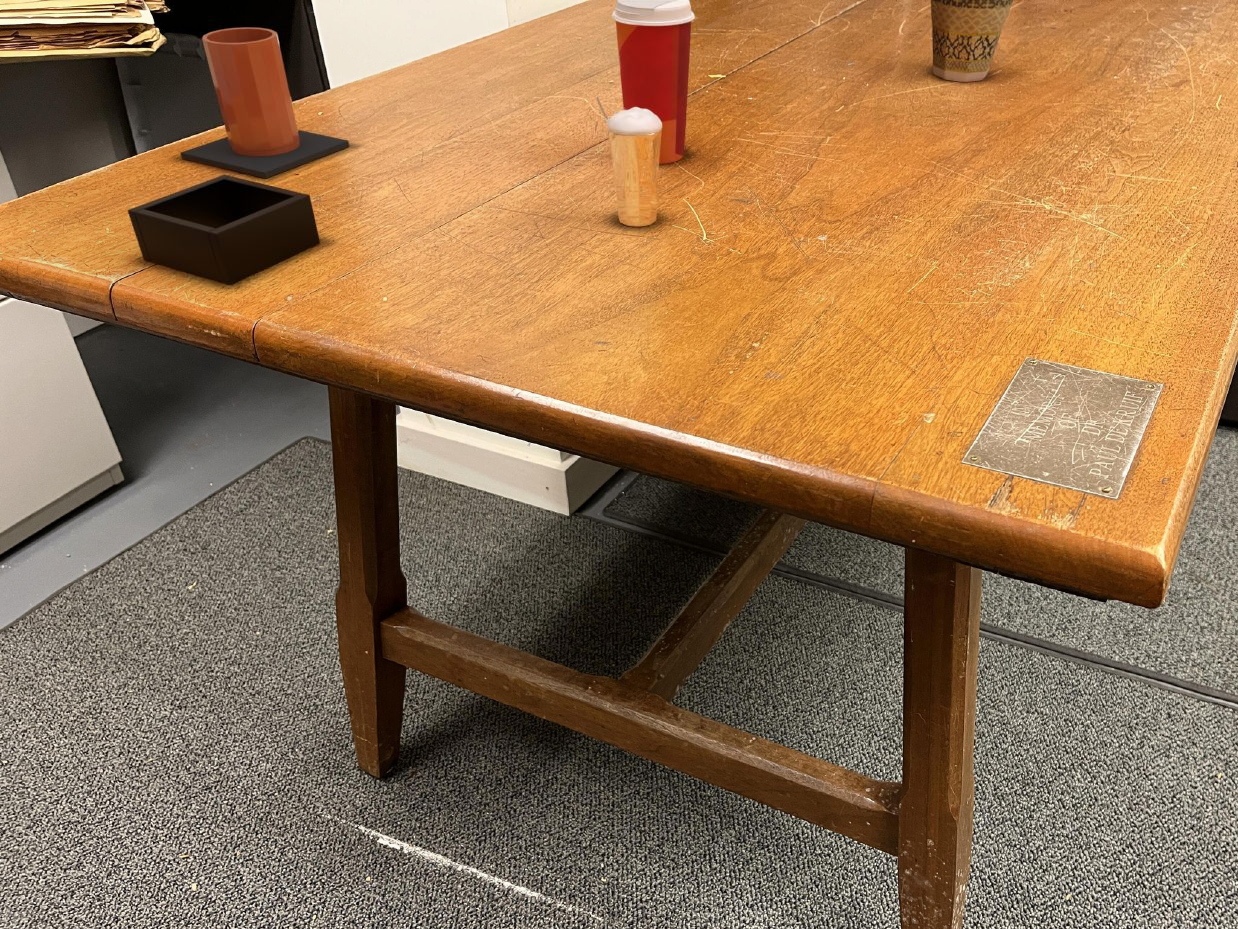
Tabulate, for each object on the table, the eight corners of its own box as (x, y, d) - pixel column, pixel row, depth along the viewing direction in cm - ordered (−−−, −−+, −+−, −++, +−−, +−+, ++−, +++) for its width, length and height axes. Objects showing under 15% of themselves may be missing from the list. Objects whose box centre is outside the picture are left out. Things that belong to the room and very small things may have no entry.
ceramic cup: (992, 89, 128) (1007, -3, 121) (911, 79, 130) (922, -11, 124) (1010, 64, 137) (1026, -22, 131) (935, 56, 140) (946, -29, 134)
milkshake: (608, 208, 94) (603, 89, 88) (667, 212, 93) (666, 93, 87) (596, 227, 90) (590, 105, 84) (658, 231, 90) (656, 109, 84)
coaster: (181, 158, 102) (179, 152, 101) (268, 128, 110) (267, 122, 109) (265, 178, 98) (264, 172, 98) (349, 146, 106) (348, 140, 105)
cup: (216, 149, 102) (186, 37, 96) (267, 132, 107) (241, 24, 101) (265, 160, 100) (237, 47, 94) (314, 142, 105) (291, 32, 98)
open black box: (143, 259, 83) (126, 209, 81) (236, 221, 90) (224, 174, 87) (230, 285, 80) (215, 233, 77) (320, 243, 86) (309, 194, 84)
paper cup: (659, 137, 110) (656, -12, 101) (710, 156, 106) (712, 1, 97) (600, 153, 106) (592, -1, 97) (651, 173, 101) (648, 13, 93)
